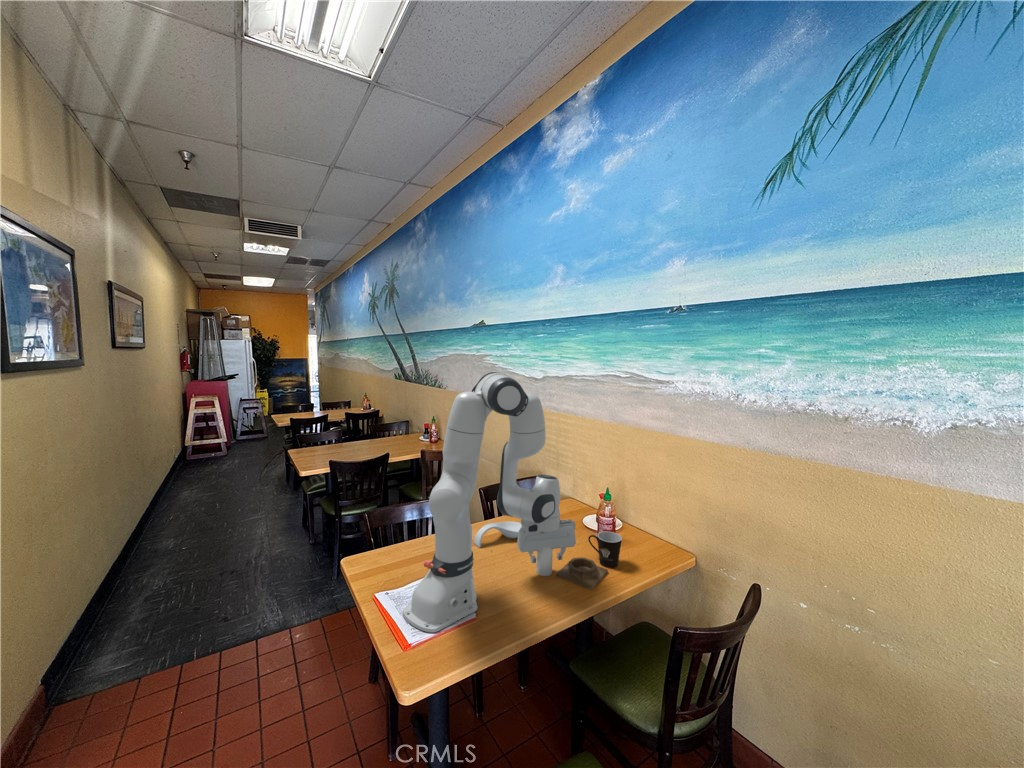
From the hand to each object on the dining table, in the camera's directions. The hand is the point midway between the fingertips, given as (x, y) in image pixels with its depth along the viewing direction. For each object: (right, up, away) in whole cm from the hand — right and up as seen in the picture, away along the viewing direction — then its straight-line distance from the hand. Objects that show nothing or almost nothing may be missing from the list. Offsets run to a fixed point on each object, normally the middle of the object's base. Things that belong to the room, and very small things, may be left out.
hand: (546, 560), depth 132 cm
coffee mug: (+22, -4, +8) cm, 24 cm away
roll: (-1, -4, +1) cm, 4 cm away
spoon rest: (-16, -3, +25) cm, 30 cm away
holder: (+12, -5, 0) cm, 13 cm away
